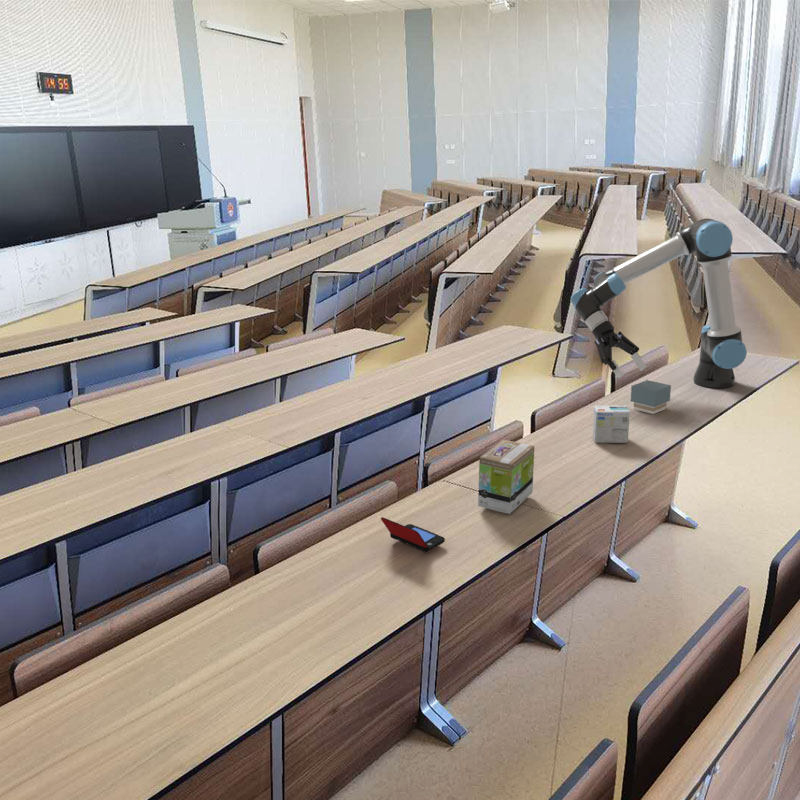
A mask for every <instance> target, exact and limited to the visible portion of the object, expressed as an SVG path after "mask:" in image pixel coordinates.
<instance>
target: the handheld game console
mask: <svg viewBox="0 0 800 800" xmlns="http://www.w3.org/2000/svg"><path fill="white" fill-rule="evenodd" d="M380 520H381V522H382V523H383V525H384V526H385V527H386V529H387V530H388V532H389V534H390V538H392V539H393V540H397V541H398V542H401V543H403V544H406V543H408V544H407V545H410V546H411V547H413V548H414V549H417V550H420V551H422V552H424V553H429V552H431V551H432V550H434V549H435V548H437V547H438V546H441V545H443V544H444V543H445V542H446V539H445V537H444V536H442V535H440V534H437V533H435V532H432V531H429V530H428V529H424V528H423V527H419V526H417V525H415V524H412V523H407V524H405V525H403V524H400V523H398V522H396V521H393V520H391V519H388V518H385V517H383V516H382V517H380Z"/></svg>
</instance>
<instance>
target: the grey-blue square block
mask: <svg viewBox="0 0 800 800" xmlns="http://www.w3.org/2000/svg"><path fill="white" fill-rule="evenodd" d="M671 392H672V385H671V384H666V383H661V382H658V381H653V380H649V379H646V380H643V381H641V382H638V383H636V384H633V385H631V389H630V402H632V403H634V402H636V403H640V404H644V405H648V406H652V407H656V406H658V405H661V404H663V403H668V402H670V401H671Z"/></svg>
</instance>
